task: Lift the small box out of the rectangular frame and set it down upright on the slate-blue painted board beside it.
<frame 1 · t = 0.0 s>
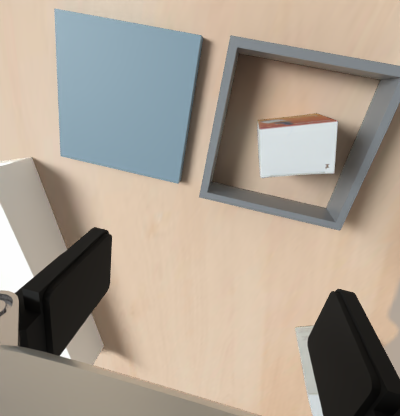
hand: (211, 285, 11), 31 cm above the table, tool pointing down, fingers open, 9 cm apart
rectangular frame: (286, 136, 38), on the table
board: (126, 103, 40), on the table
supplement box: (317, 338, 51), on the table
small box: (285, 136, 38), resting in rectangular frame
building model: (30, 265, 57), on the table
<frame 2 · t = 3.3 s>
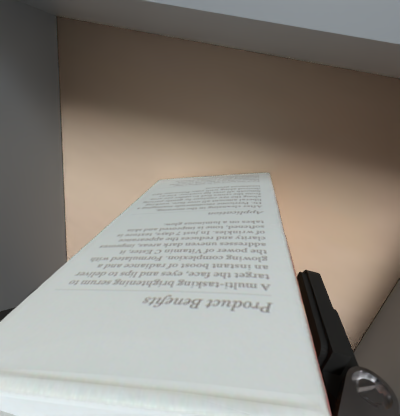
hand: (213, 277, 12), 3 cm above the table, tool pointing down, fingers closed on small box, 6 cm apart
rectangular frame: (219, 245, 14), on the table
small box: (220, 242, 14), resting in rectangular frame, touching gripper
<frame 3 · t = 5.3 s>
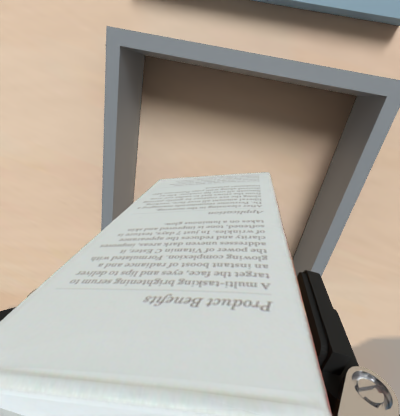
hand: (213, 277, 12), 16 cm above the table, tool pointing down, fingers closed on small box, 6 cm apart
rectangular frame: (224, 176, 26), on the table
small box: (220, 242, 14), point 13 cm above the table, touching gripper
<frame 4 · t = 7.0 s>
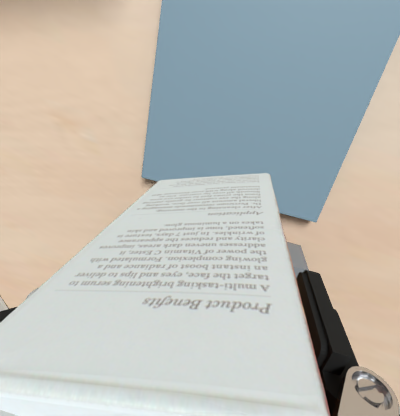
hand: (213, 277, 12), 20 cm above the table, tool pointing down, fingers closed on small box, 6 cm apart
rectangular frame: (203, 286, 37), on the table
board: (251, 104, 27), on the table
small box: (220, 243, 14), point 17 cm above the table, touching gripper
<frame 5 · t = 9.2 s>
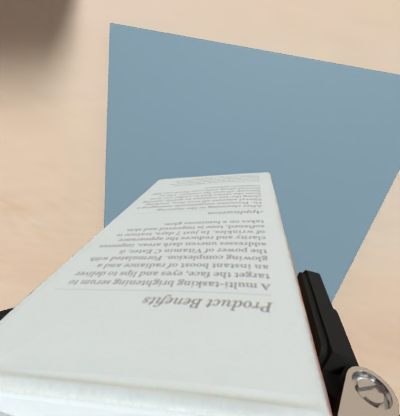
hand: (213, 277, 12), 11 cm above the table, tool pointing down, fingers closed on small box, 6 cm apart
board: (231, 195, 21), on the table
small box: (220, 242, 14), point 8 cm above the table, touching gripper
when the fingers open (6 cm above the table, at t = 11.0 s): small box drops 2 cm, resting on board.
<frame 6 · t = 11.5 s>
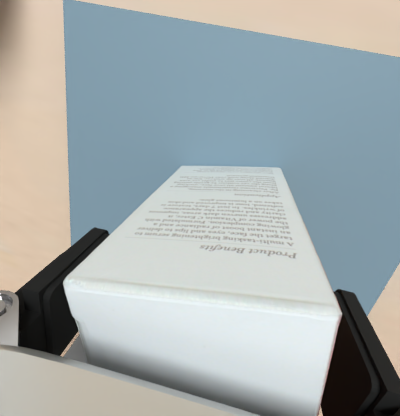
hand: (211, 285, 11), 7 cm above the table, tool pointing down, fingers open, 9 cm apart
board: (225, 217, 17), on the table
small box: (228, 227, 16), point 1 cm above the table, touching board
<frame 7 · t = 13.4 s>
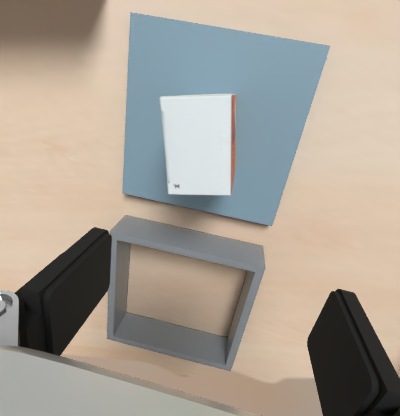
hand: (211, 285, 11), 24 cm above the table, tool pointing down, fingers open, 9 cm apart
rectangular frame: (183, 284, 42), on the table
board: (210, 129, 32), on the table
small box: (212, 131, 30), point 1 cm above the table, touching board
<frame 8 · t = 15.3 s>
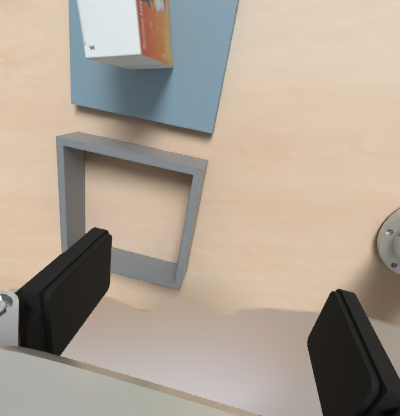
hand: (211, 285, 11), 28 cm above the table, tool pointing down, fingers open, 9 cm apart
rectangular frame: (136, 206, 43), on the table
board: (151, 34, 33), on the table
small box: (149, 32, 32), point 1 cm above the table, touching board
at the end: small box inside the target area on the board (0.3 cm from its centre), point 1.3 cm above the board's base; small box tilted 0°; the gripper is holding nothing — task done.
